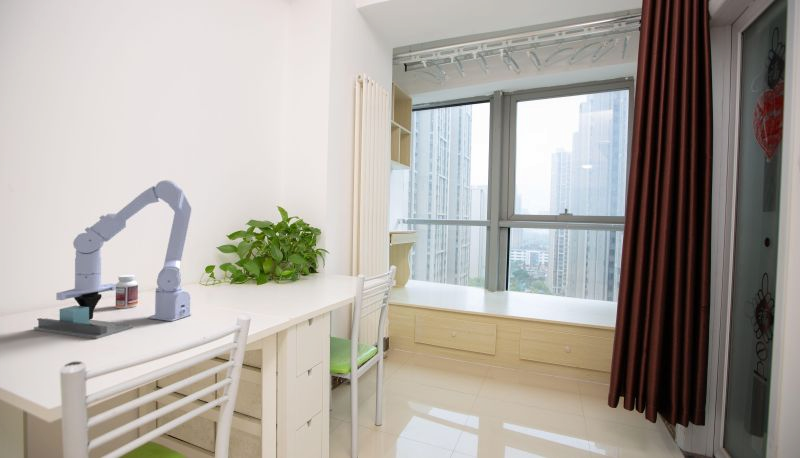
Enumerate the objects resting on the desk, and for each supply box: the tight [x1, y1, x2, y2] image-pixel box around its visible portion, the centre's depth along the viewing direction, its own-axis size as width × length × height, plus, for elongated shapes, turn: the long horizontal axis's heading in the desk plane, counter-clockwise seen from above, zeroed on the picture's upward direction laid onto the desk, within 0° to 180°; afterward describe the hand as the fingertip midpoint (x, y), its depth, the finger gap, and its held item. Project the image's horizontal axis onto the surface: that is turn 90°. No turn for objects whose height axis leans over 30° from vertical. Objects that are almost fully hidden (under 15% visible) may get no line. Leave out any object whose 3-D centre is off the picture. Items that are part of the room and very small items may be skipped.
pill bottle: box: [115, 274, 139, 309], centre depth 122 cm, size 6×6×11 cm
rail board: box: [33, 317, 134, 340], centre depth 98 cm, size 22×10×3 cm, turn 78°
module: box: [59, 305, 89, 324], centre depth 99 cm, size 5×4×5 cm
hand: (87, 319), depth 102 cm, fingers closed
